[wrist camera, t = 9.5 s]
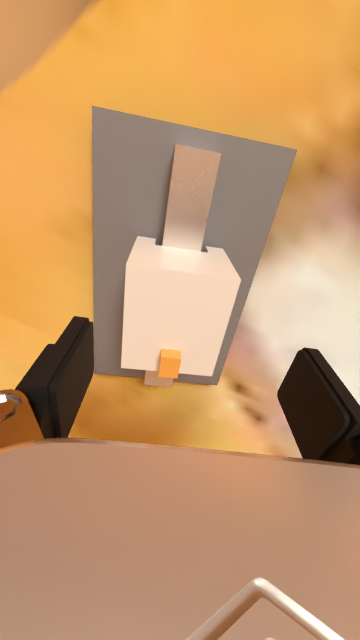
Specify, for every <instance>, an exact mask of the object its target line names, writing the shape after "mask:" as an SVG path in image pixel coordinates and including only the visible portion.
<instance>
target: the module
mask: <svg viewBox="0 0 360 640" xmlns="http://www.w3.org/2000/svg"><path fill="white" fill-rule="evenodd" d="M155 243H156V239H155V238H148V237H142V236H137V239H136V241H135V243H134V246H133V248H132V251H131V253H130V255H129V258H128V260H127V263H126V273H125V294H124V315H123V335H122V356H121V368H127V369H138V370H149V371H159V372H158V377H166V378H178V373H181V374H192V375H203V376H212V375H213V371H214V368H215V365H216V361H217V358H218V355H219V352H220V348H221V345H222V342H223V338H224V335H225V332H226V328H227V325H228V322H229V318H230V315H231V312H232V309H233V305H234V302H235V299H236V295H237V292H238V289H239V285H240V282H241V279H240V277H239V275H238V273H237V272H236V270H235V268H234V267H233V265H232V263H231V261H230V260H229V258H228V256H227V255H226V253H225V251H224V249H222V248H216V247H209V246H206V247H205V252H200V251H193V250H187V249H180V248H173V247H166V246H159V245H155Z"/></svg>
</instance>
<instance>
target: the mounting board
mask: <svg viewBox="0 0 360 640" xmlns="http://www.w3.org/2000/svg"><path fill="white" fill-rule="evenodd" d="M92 143H93V268H94V373H96V374H106V375H116V376H127V377H137V378H145V371H146V370H138V369H127V368H121V356H122V335H123V315H124V294H125V273H126V263H127V260H128V258H129V255H130V253H131V251H132V248H133V246H134V243H135V241H136V239H137V236H142V237H148V238H155V239H156V243H155V245H159V246H162V242H163V234H164V226H165V219H166V211H167V204H168V196H169V189H170V181H171V173H172V166H173V158H174V151H175V144H179V145H184V146H189V147H194V148H199V149H204V150H209V151H213V152H218V153H221V158H220V163H219V167H218V172H217V177H216V181H215V186H214V191H213V195H212V200H211V205H210V210H209V214H208V219H207V224H206V228H205V233H204V238H203V242H202V247H201V252H205V247H206V246H209V247H216V248H222V249H224V251H225V253H226V255H227V256H228V258H229V260H230V261H231V263H232V265H233V267H234V268H235V270H236V272H237V273H238V275H239V277H240V279H241V282H240V285H239V289H238V292H237V295H236V299H235V302H234V305H233V309H232V312H231V315H230V318H229V322H228V325H227V328H226V332H225V335H224V338H223V342H222V345H221V348H220V352H219V355H218V358H217V361H216V365H215V368H214V371H213V375H212V376H203V375H192V374H181V373H178V378H174V379H173V381H178V382H188V383H198V384H209V385H217V384H218V381H219V378H220V375H221V372H222V369H223V366H224V363H225V360H226V357H227V354H228V351H229V349H230V346H231V343H232V340H233V337H234V334H235V331H236V328H237V325H238V322H239V319H240V316H241V313H242V310H243V307H244V304H245V302H246V299H247V296H248V293H249V290H250V287H251V284H252V281H253V278H254V275H255V272H256V269H257V266H258V263H259V260H260V257H261V255H262V252H263V249H264V246H265V243H266V240H267V237H268V234H269V231H270V228H271V225H272V222H273V219H274V216H275V213H276V210H277V208H278V205H279V202H280V199H281V196H282V193H283V190H284V187H285V184H286V181H287V178H288V175H289V172H290V169H291V166H292V163H293V161H294V158H295V155H296V152H297V150H296V149H291V148H287V147H282V146H277V145H273V144H268V143H263V142H259V141H254V140H249V139H245V138H240V137H235V136H231V135H226V134H221V133H217V132H212V131H207V130H203V129H198V128H193V127H189V126H184V125H179V124H175V123H170V122H165V121H161V120H156V119H151V118H147V117H142V116H137V115H133V114H128V113H123V112H119V111H114V110H109V109H105V108H100V107H95V106H92Z"/></svg>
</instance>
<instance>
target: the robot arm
mask: <svg viewBox="0 0 360 640" xmlns="http://www.w3.org/2000/svg"><path fill="white" fill-rule="evenodd" d="M93 372H94V338H93V322H89V319H88V318H84V317H77V316H74V317H73V319H72V320H71V322H70V323H69V325H68V326H67V327H66V329H65V330H64V332H63V333H62V335H61V336H60V338H59V339H58V340H57V342H56V343H55V344H48V345H47V346H46V347H45V349H44V350H43V351H42V353H41V354H40V355H39V357H38V358H37V360H36V361H35V362H34V364H33V365H32V366H31V368H30V369H29V371H28V372H27V373H26V375H25V376H24V377H23V379H22V380H21V382H20V383H19V384H18V386H17V387H16V388H15V390H13V389H8V390H1V391H0V640H360V405H359V404H358V403H357V401H356V400H355V399H354V397H353V396H352V395H351V393H350V392H349V391H348V389H347V388H346V386H345V385H344V384H343V382H342V381H341V380H340V378H339V377H338V376H337V374H336V373H335V372H334V370H333V369H332V368H331V366H330V365H329V364H328V362H327V361H326V360H325V358H324V357H323V355H322V354H321V353H320V351H319V350H317V349H311V348H303V349H302V350H299V351H298V352H297V354H296V356H295V358H294V360H293V362H292V364H291V366H290V368H289V370H288V372H287V374H286V376H285V378H284V380H283V382H282V384H281V386H280V388H279V390H278V393H277V396H278V400H279V402H280V405H281V407H282V410H283V412H284V414H285V417H286V419H287V422H288V424H289V426H290V429H291V431H292V434H293V436H294V438H295V441H296V443H297V446H298V448H299V450H300V453H301V455H302V458H303V459H302V458H292V457H282V456H273V455H263V454H253V453H243V452H233V451H222V450H212V449H202V448H192V447H181V446H170V445H159V444H148V443H137V442H126V441H113V440H100V439H87V438H67V437H68V435H69V432H70V430H71V427H72V425H73V423H74V420H75V418H76V415H77V413H78V410H79V408H80V405H81V403H82V401H83V398H84V396H85V393H86V391H87V388H88V386H89V383H90V381H91V379H92V376H93Z"/></svg>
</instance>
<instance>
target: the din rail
mask: <svg viewBox="0 0 360 640" xmlns="http://www.w3.org/2000/svg"><path fill="white" fill-rule="evenodd" d="M220 158H221V153H218V152H213V151H209V150H204V149H199V148H194V147H189V146H184V145H179V144H175V151H174V158H173V166H172V173H171V181H170V189H169V196H168V204H167V211H166V219H165V226H164V234H163V242H162V246H166V247H173V248H180V249H187V250H193V251H200V252H201V247H202V242H203V238H204V233H205V228H206V224H207V219H208V214H209V210H210V205H211V200H212V195H213V191H214V186H215V181H216V177H217V172H218V167H219V163H220ZM158 372H159V371H149V370H146V371H145V379H144V385H152V386H162V387H172V383H173V379H174V378H166V377H158Z"/></svg>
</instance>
